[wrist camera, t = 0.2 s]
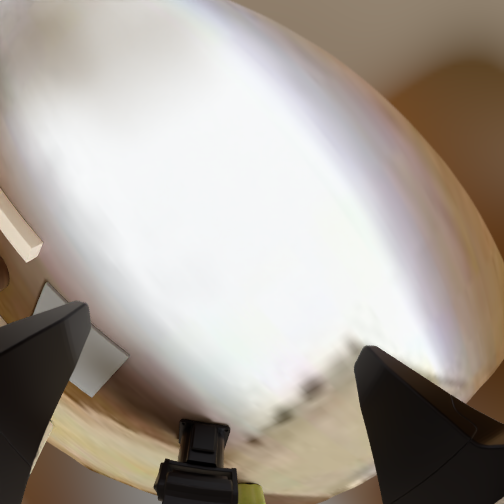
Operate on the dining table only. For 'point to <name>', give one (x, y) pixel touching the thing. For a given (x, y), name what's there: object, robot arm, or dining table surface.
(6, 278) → the brown wooden cylinder
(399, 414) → the robot arm
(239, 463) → the dining table surface
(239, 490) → the plant pot
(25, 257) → the white frame
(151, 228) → the dining table surface
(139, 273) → the dining table surface
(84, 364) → the mat
